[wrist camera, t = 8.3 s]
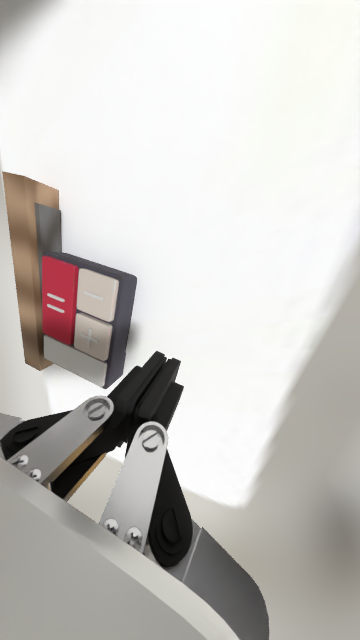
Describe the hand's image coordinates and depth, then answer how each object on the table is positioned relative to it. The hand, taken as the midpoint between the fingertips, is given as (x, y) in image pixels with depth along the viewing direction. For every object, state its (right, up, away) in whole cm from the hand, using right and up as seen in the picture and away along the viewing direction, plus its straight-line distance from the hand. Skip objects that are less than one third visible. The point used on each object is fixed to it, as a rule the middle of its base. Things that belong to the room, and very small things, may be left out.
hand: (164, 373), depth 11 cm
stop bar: (-17, +8, +14) cm, 23 cm away
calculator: (-11, +4, +13) cm, 17 cm away
